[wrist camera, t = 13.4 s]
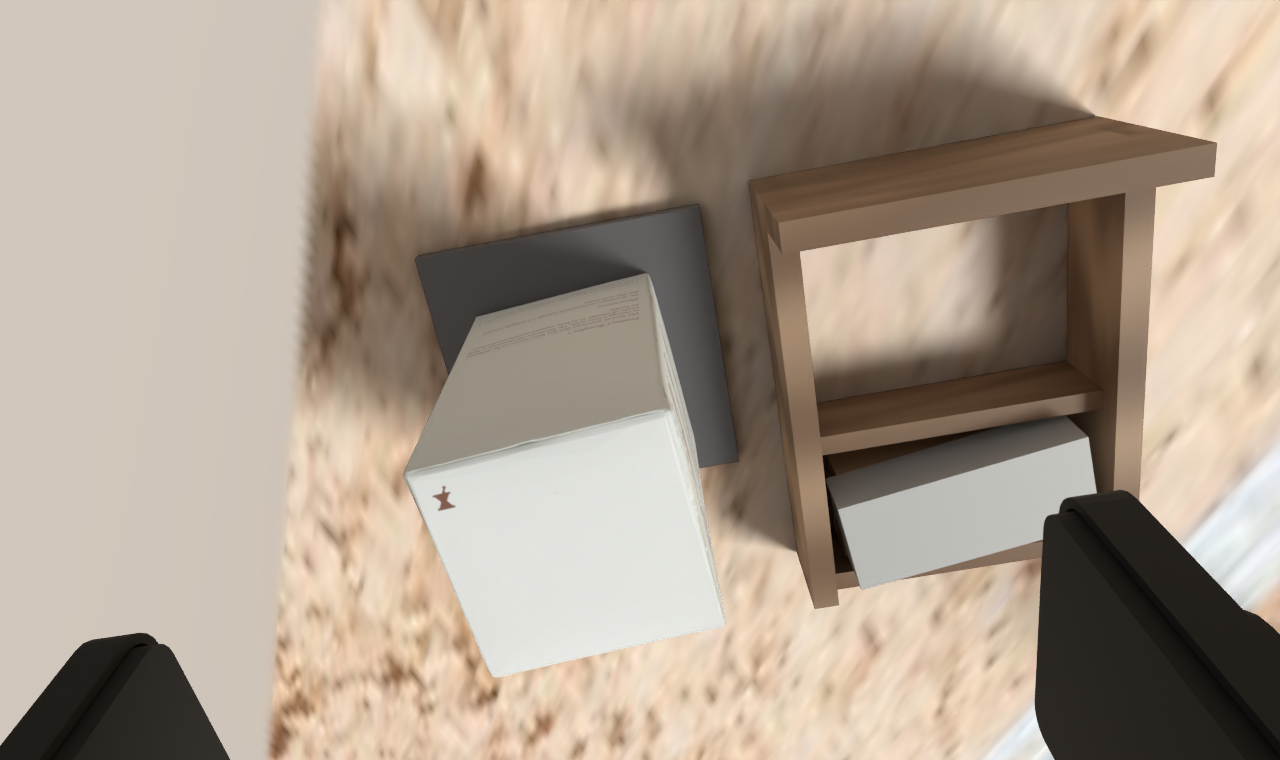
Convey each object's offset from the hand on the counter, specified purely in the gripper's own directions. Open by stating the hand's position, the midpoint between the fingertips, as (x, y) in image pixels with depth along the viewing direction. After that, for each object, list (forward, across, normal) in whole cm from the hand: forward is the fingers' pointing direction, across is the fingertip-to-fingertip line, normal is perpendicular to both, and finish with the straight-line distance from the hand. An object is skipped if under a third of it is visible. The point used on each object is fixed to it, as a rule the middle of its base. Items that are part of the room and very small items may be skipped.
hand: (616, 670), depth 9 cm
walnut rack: (+25, -11, +10) cm, 29 cm away
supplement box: (+25, +3, +8) cm, 26 cm away
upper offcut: (+23, -11, +15) cm, 30 cm away
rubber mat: (+25, +3, +8) cm, 26 cm away
